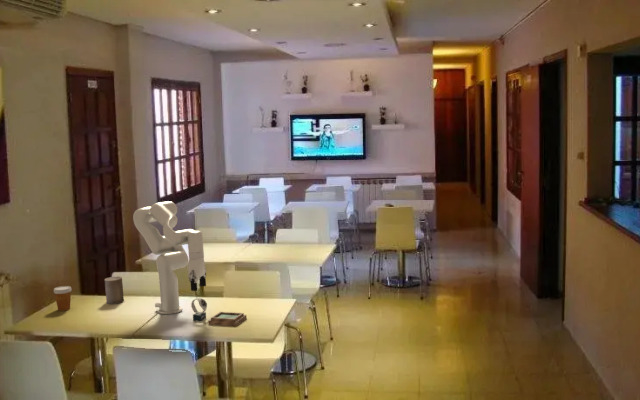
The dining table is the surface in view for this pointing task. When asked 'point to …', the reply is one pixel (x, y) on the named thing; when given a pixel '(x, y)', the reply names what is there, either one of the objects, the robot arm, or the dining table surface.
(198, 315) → the watch
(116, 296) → the pillar candle
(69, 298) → the disposable coffee cup
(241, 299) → the dining table surface
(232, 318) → the stand
